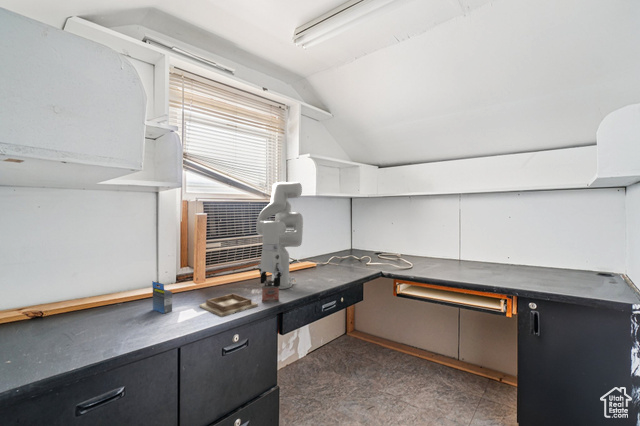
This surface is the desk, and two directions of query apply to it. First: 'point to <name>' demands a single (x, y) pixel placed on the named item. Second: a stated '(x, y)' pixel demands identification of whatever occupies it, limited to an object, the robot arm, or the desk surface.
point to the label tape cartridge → (161, 298)
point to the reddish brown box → (270, 292)
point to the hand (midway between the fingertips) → (270, 284)
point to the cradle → (228, 304)
